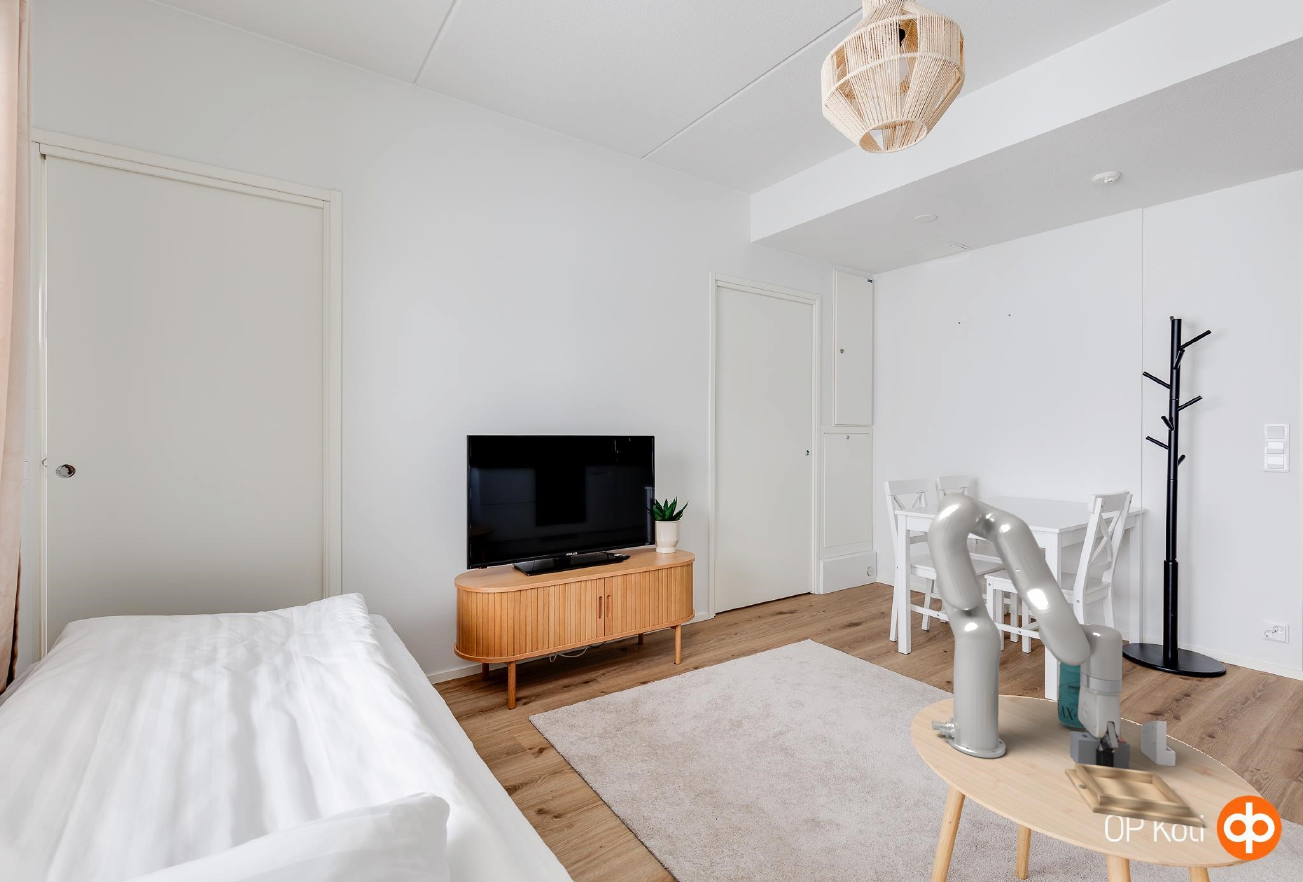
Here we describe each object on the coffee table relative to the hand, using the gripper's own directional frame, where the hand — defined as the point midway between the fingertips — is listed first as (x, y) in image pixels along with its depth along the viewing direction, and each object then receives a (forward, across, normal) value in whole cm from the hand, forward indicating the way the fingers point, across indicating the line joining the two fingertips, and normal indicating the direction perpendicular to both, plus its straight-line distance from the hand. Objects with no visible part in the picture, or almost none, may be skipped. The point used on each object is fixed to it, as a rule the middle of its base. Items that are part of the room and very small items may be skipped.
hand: (1099, 760), depth 137 cm
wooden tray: (+1, +13, 0) cm, 13 cm away
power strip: (+1, 0, 0) cm, 1 cm away
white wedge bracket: (+1, -6, +14) cm, 15 cm away
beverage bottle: (+1, -17, +1) cm, 17 cm away
